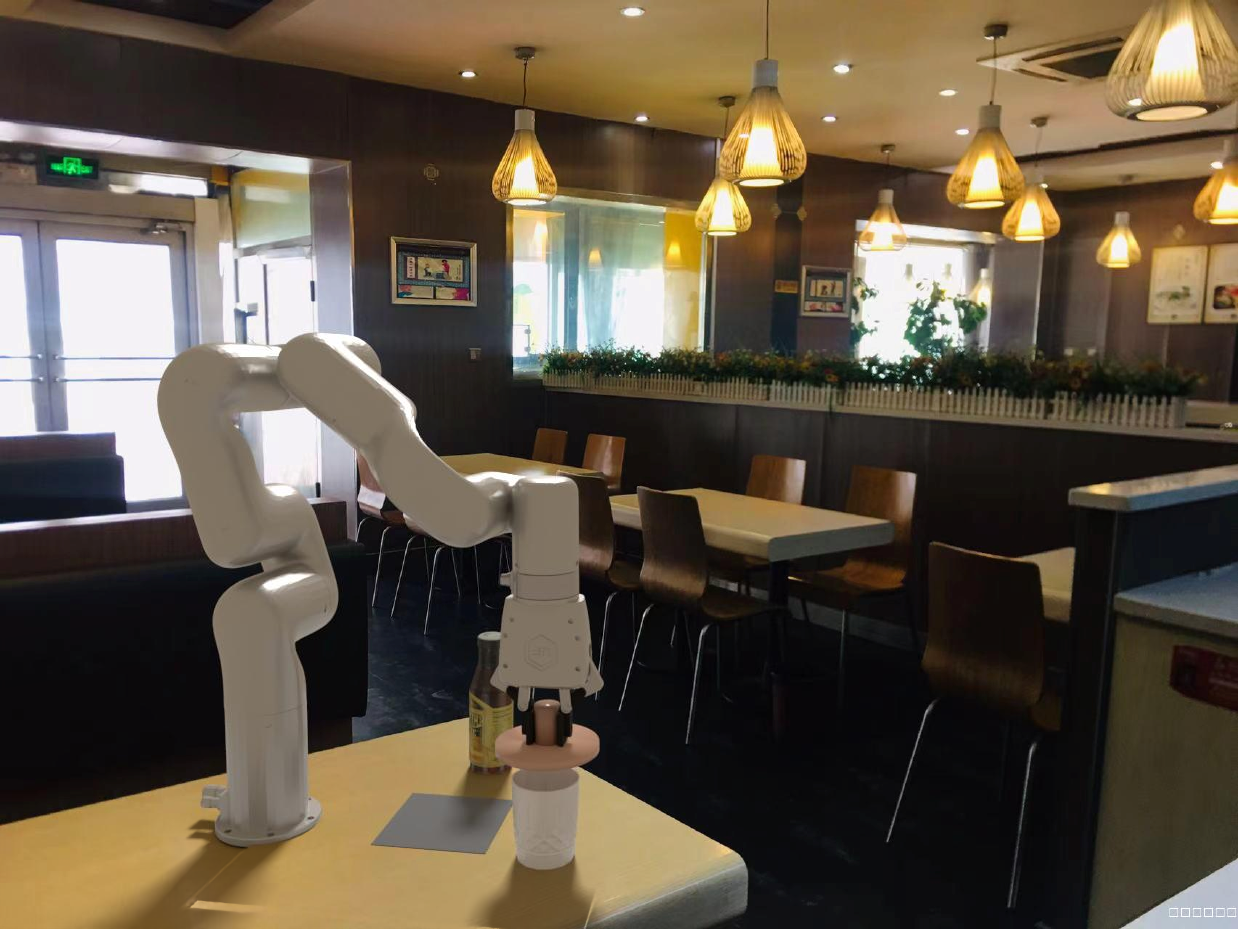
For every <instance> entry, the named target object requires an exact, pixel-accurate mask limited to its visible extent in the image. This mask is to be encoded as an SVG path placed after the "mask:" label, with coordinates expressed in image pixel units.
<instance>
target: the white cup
mask: <svg viewBox="0 0 1238 929" xmlns="http://www.w3.org/2000/svg"><path fill="white" fill-rule="evenodd" d="M510 780H511V800H512V803H513V805H512V818H513V831H514V832H513V833H514V840H515V851H516V852H515V855H516V858H517V862H519V863H520V864H521V865H522V866H524V867H525V868H529V869H533V870H534V869H535V870H536V871H537V870H540V871H541V870H546V871H547V870H553V869H559V868H562V867H564V866H566V865H568V864H570V863H571V862H572V861H573V860H574V857H575V855H576V839H577V838H576V837H577V830H578V825H577V824H578V816H579V795H580V774H579V772H578V771H577V770H576V769H574V768H570V769H565V770H558V771H529V770H522V769H517V770H516V771H515V772H514V773H513V774H512V775H511V779H510Z"/></svg>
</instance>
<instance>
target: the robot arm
mask: <svg viewBox="0 0 1238 929" xmlns="http://www.w3.org/2000/svg"><path fill="white" fill-rule="evenodd" d="M156 406H157V414H158V418H159V422H160V426H161V428H162V431H163V433H164V436H165V438H166V440H167V442H168V445H169V447H170V449H171V452H172V454H173V456H174V459H175V462H176V464H177V468H178V470H179V472H180V477H181V480H182V481H181V482H182V484H183V485H182V486H183V488H184V492H185V494H186V497H187V501H188V503H189V507H190V511H191V514H192V516H193V520H194V523H195V526H196V529H197V532H198V536H199V538H200V541H201V542H200V543H201V545H202V548H203V549H204V551H205V554H206V555H207V557H208V558H209V560H210V561H211V562H212V563H214V564H215V565H217V566H219V567H222V568H227V569H237V568H243V567H248V566H252V565H255V564H258V563H260V564H261V566H262V570H263V571H262V572H260V573H257V574H255V575H252V576H249V577H246V578H244V579H242V580H239V581H238V582H235V584H233V585H232V586H230V587H229V588H228V589H226V591H224V592H223V593H222V595H221V596H220V598H218V601H217V603H216V604H215V608H214V609H213V610H214V611H213V615H212V628H213V634H214V639H215V643H216V647H217V650H218V651H217V652H218V654H219V660H220V666H221V674H222V684H223V686H222V688H223V708H224V725H225V727H224V728H225V730H224V731H225V751H226V752H225V755H226V786H225V785H220V784H210V783H209V784H208V783H207V784H205V786H204V787H203V789H202V791H201V800H200V807H201V808H205V809H206V808H207V809H213V808H214V809H217V810H218V811H219V815H218V816H217V817H216V819H215V822H214V834H215V836H216V837H217V838H218V840H220V841H222V842H223V843H226V844H228V845H231V846H235V847H241V848H242V847H243V848H249V847H250V846H253V845H254V846H257V845H265V844H266V845H269V844H273V843H279V842H282V841H286V840H289V839H292V838H295V837H298V836H300V835H302V834H304V833H306V832H307V831H310V830H311V829H312V828H314V827H315V826H316V825H317V824H318V823H319V822H320V820H321V819H322V817H323V806H322V804H321V803H320V802H319V800H317V799H316V798H314V797H312V796H310V793H309V792H310V789H309V788H310V784H309V782H310V781H309V780H310V779H309V751H308V750H309V749H308V747H309V746H308V745H309V744H308V741H309V740H308V709H307V706H308V705H307V704H308V702H307V700H308V699H307V683H306V676H305V675H306V674H305V671H304V668H303V665H302V663H301V660H300V658H299V655H298V652H297V651H296V642H297V641H299V640H300V639H302V638H304V637H305V638H306V637H307V636H309V635H311V634H313V633H315V632H317V631H318V630H320V629H321V628H323V627H324V626H326V625H327V624H328V623H329V622H330V621H331V620H332V619H333V617H334V615H335V614H336V611H337V608H338V606H339V605H338V603H339V588H338V584H337V580H336V576H335V572H334V569H333V566H332V562H331V560H330V556H329V553H328V550H327V546H326V544H325V539H324V537H323V533H322V530H321V528H320V524H319V521H318V518H317V515H316V512H315V510H314V508H313V507H312V504H311V503H310V502H309V500H308V499H307V497H306V496H304V494H303V493H301V492H300V491H299V490H298V489H297V488H294V486H291V485H289V484H285V483H280V482H277V483H276V482H269V483H263V482H262V479H261V477H260V473H259V472H258V468H257V464H256V461H255V457H254V454H253V451H252V449H251V446H250V445H249V443H248V442H247V440H246V439H245V437H244V435H242V433H241V432H240V430H239V429H238V428H237V427H236V426H235V425H234V423H233V422H232V421H233V420H232V415H234V414H236V413H256V412H274V411H283V410H292V409H303V408H305V409H306V410H308V411H309V412H310V413H311V414H312V415H313V416H315V417H316V418H317V419H318V420H319V421H321V422H322V423H323V424H324V425H326V426H327V427H328V428H329V429H331V430H332V431H333V432H334V433H335V434H336V435H337V436H339V437H340V438H341V439H342V440H343V441H345V442H346V443H347V444H348V445H349V446H350V447H352V448H353V449H354V450H355V451H356V452H357V453H359V454H360V455H361V456H362V457H363V458H364V459H365V461H366V463H367V465H368V469H369V470H370V473H371V475H372V476H373V478H374V480H375V481H376V482H377V485H378V486H379V488H380V489H381V491H382V492H383V494H384V495H385V496H386V497H387V499H388V500H389V501H390V502H391V503H392V504H393V505H394V506H395V507H396V508H397V509H398V510H399V511H400V512H402V514H404V515H405V516H406V517H407V518H408V519H410V520H411V521H412V522H414V523H415V524H416V525H417V526H418V527H419V528H421V530H424V531H425V532H426V533H427V534H428V535H430V536H431V537H433V538H434V539H436V540H438V541H439V542H440V543H444V544H445V545H447V546H451V547H455V548H470V547H473V546H476V545H478V544H480V543H483V542H484V541H485V542H486V541H487V540H489V539H491V538H494V537H498V536H501V535H504V534H508V533H511V536H512V537H511V542H512V544H511V546H512V547H511V548H512V552H511V556H512V559H511V560H512V570H511V571H510V572H507V573H501V574H500V578H499V579H500V581H499V584H500V585H501V586H506V587H508V588H509V589H510V590H511V591H510V593H511V594H510V595H508V596H506V597H505V600H504V604H503V605H504V606H503V611H502V616H501V625H500V626H501V628H500V632H501V637H500V653H499V665H498V667H497V668H496V670H495V672H494V674H493V676H492V678H491V680H490V683H491V684H492V685H493V686H495V687H496V688H498V689H500V690H502V691H503V692H506V693H507V694H508V696H509V697H510V698H511V699H512V700H513V703H515V704H516V705H517V708H518V710H519V711H521V718H520V719H521V725H522V735H526V745H531V744H533V743H534V703H535V700H536V699H534V696H535V695H534V694H535V688H536V689H551V690H552V689H554V690H555V689H556V690H557V689H558V692H559V693H558V694H559V700H560V701H559V703H560V706H559V711H558V713H557V745H558V746H559V747H563V746H564V744H565V742H566V740H567V738H568V737H571V736H572V731H573V724H574V723H573V720H574V719H573V709H575V707H576V706H577V705H578V704H580V703H581V701H582V700H584V698H586V697H588V696H591V695H592V694H595V693H598V691H601V690H602V688H603V687H604V680H603V678H602V677H601V674H600V672H599V671H598V669H597V667H596V665H595V663H594V661H593V655H592V654H593V650H592V639H591V630H590V628H591V627H590V619H589V614H588V613H589V612H588V607H587V603H586V602H587V601H586V598H585V595H584V594H581V593H580V567H579V565H580V558H579V557H580V554H579V553H580V551H579V550H580V548H579V544H580V538H579V537H580V536H579V534H580V532H579V531H580V530H579V527H580V524H579V523H580V520H579V517H580V516H579V514H580V513H579V512H580V511H579V509H580V508H579V502H580V501H579V498H580V497H579V488H578V486H577V483H576V482H575V480H573V479H572V478H570V477H567V476H561V475H534V476H533V475H531V476H523V475H516V474H510V473H505V472H500V471H483V472H477V473H473V474H470V475H466V476H463V475H461V474H460V473H459V472H457V470H455V469H454V468H452V467H451V466H450V465H449V464H447V463H446V462H445V461H443V460H442V458H441V457H439V456H438V455H437V454H436V453H435V452H433V450H432V449H431V448H430V447H429V446H427V444H426V443H425V441H423V438H422V437H421V435H419V431H418V429H417V426H416V419H417V407H416V404H414V402H413V401H412V399H410V398H409V397H408V396H406V395H405V394H404V393H402V392H401V391H400V390H399V389H398V388H397V387H395V386H394V385H392V384H391V383H390V381H388V380H387V379H385V378H384V377H382V365H381V362H380V359H379V357H378V355H377V353H376V352H375V350H374V349H373V348H372V346H370V345H369V344H368V343H367V342H366V341H365V340H363V339H361V338H359V337H356V336H354V335H349V334H342V333H341V334H339V333H329V332H317V331H316V332H315V331H313V332H308V333H302V334H299V335H297V336H295V337H293V338H291V339H290V340H288V341H287V342H286V343H279V344H278V343H277V344H258V343H257V344H256V343H241V342H224V341H223V342H222V341H220V342H219V341H217V342H205V343H201V344H197V345H194V346H191V347H189V348H186V349H185V350H183V351H181V352H180V353H179V354H177V355H176V356H175V357H174V358H173V359H172V360H171V361H170V363H169V364H168V365H167V367H166V368H165V370H164V372H163V373H162V376H161V378H160V381H159V384H158V389H157V396H156Z"/></svg>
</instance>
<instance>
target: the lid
mask: <svg viewBox="0 0 1238 929" xmlns="http://www.w3.org/2000/svg"><path fill="white" fill-rule="evenodd" d="M560 705H561V703H560V701H558V700H555V699H541V700H537V701H536V702H535V703H534V743H533V744H531V745H526V735H522V724H521V725H519V726H514V727H513V728H512V729H509V730H507V731H505V732H504V733H502V734H501V735H500V736H499V737H498V738H497V739H496V741H495V755H496V757H497V758H498V759H499V760H500V761H501V762H502V763H504V764H506V765H508V766H511V768H515V769H517V770H519V769H522V770H529V771H558V770H565V769H570V768H573V769H574V768H577V767H579V766H583V765H585V764H587V763H589V762H591V761H592V760H593V759H595V758H596V757H597V756H598V754H599V752H600V738H599V735H597V733H596V731H594V730H592V729H590V728H588V727H586V726H583V725H579V724H576V723H573V731H572V736H571V737H568V738H567V740H566V742H565V744H564V746H563V747H559V746H558V745H557V713H558V711H559V706H560Z"/></svg>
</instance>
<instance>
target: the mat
mask: <svg viewBox="0 0 1238 929" xmlns="http://www.w3.org/2000/svg"><path fill="white" fill-rule="evenodd" d="M511 808H513V803H512V799H503V798H488V797H476V796H475V797H473V796H463V795H462V796H460V795H450V794H449V795H448V794H434V793H433V794H432V793H422V792H421V793H420V792H412V793H411V794H410V795H409V796H408V798H407V799H406V800H405V802H404V803H403V804H402V805H401V806H400V808H399V809H398V810H397V811H396V813H395V814H394V815H393V816H392V817H391V819H390V820H389V822H388V823H387V824H386V825H385V826H384V828H382V830H381V831H380V832H379V834H378V835H377V836H376V837H375V839H374V840H373V841H372V842H371V843H370V846H380V847H392V848H394V847H395V848H404V849H405V848H406V849H407V848H408V849H418V850H419V849H420V850H428V851H430V850H431V851H440V852H442V851H443V852H452V853H453V852H455V853H466V854H467V853H468V854H478V855H480V854H481V855H486V854H487V851H488V849H490V846H491V845H492V842H493V841H494V839H495V837H496V835H497V834H498V832H499V830H500V828H501V827H502V824H503V823H504V821H505V819H506V817H507V816H508V814H509V812H510V811H511Z"/></svg>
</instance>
